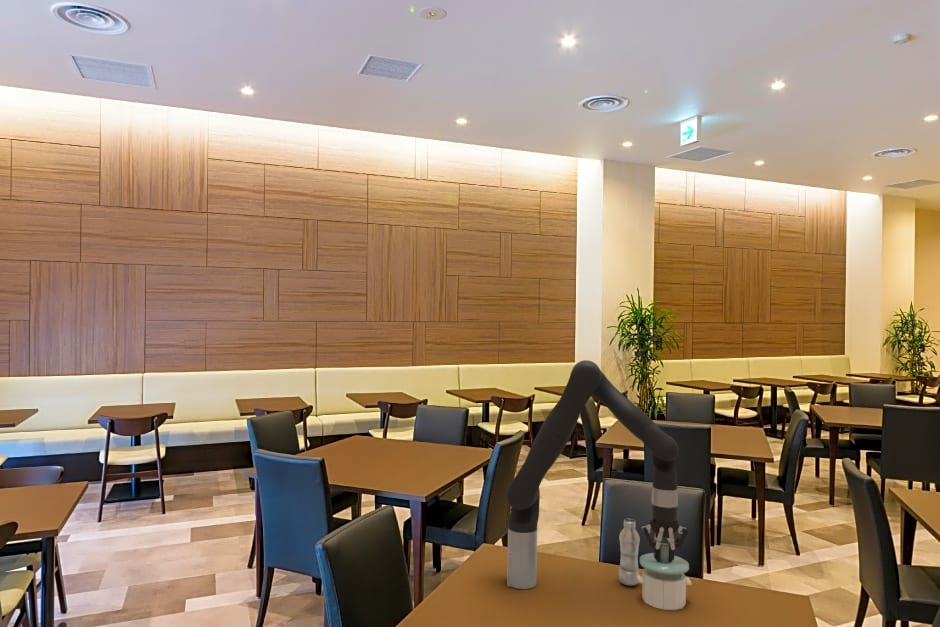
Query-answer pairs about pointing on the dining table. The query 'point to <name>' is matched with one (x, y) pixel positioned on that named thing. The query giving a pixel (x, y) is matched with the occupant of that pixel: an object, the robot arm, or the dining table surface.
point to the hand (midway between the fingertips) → (664, 560)
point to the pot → (664, 589)
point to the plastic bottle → (629, 553)
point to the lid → (664, 562)
